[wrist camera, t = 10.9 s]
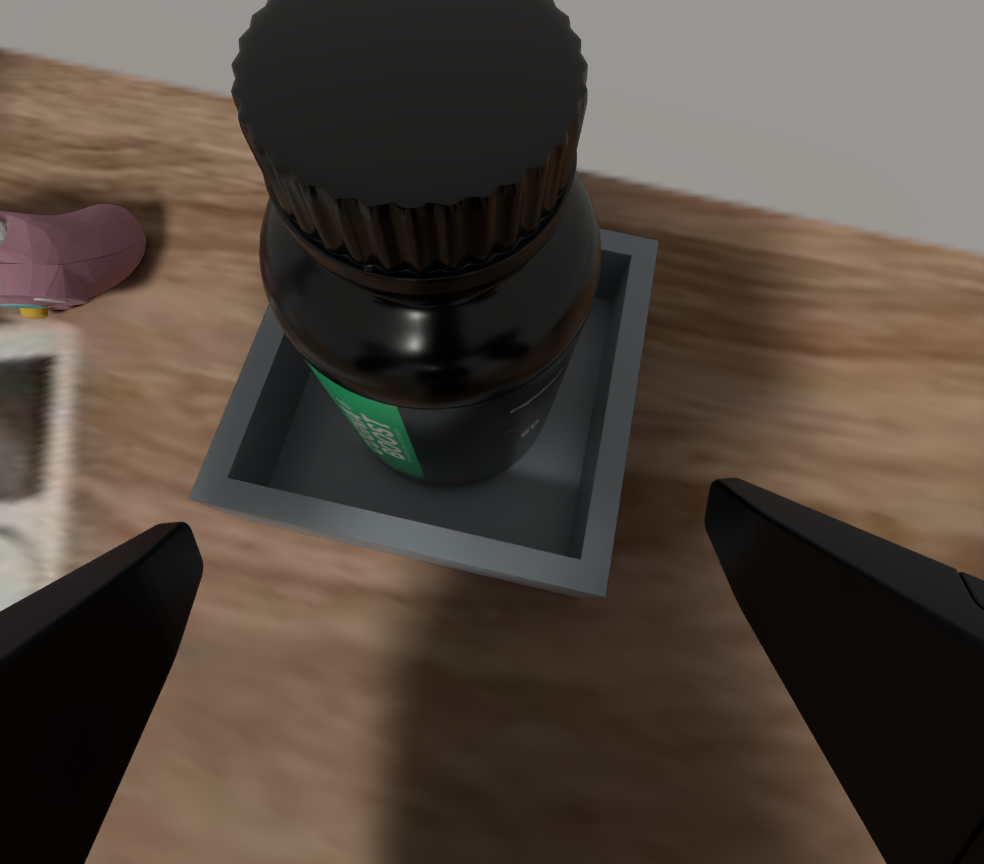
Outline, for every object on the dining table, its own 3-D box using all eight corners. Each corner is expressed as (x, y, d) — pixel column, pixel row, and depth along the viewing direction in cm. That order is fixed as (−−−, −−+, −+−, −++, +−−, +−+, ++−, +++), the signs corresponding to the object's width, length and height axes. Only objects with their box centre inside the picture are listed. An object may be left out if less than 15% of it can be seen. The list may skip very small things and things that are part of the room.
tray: (580, 598, 17) (605, 597, 14) (242, 519, 18) (188, 498, 14) (629, 298, 21) (659, 240, 17) (347, 239, 21) (323, 171, 18)
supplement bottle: (409, 529, 17) (275, 385, 6) (319, 361, 19) (73, -15, 7) (585, 429, 18) (772, 142, 7) (485, 280, 20) (500, -152, 8)
